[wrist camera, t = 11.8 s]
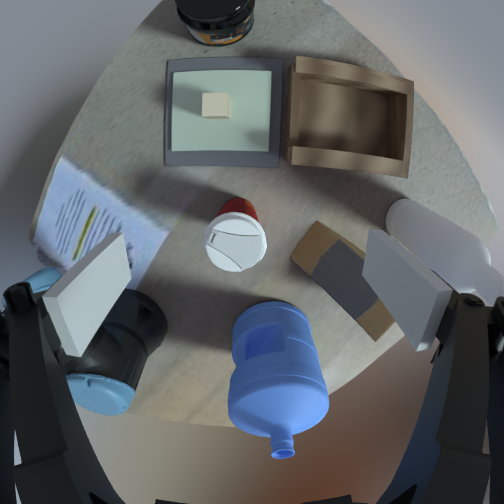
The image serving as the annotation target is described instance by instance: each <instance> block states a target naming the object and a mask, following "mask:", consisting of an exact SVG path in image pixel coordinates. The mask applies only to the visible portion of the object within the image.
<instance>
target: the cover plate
mask: <svg viewBox="0 0 504 504" xmlns="http://www.w3.org/2000/svg"><path fill="white" fill-rule="evenodd" d="M271 75H272V71H257V70H207V71H188V72H176V73H174V76H173V97H172V151H199V150H234V151H266V152H269V128H270V103H271Z"/></svg>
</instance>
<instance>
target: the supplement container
mask: <svg viewBox="0 0 504 504" xmlns="http://www.w3.org/2000/svg"><path fill="white" fill-rule="evenodd" d="M175 2H176V5H177V12H178V15H179V17H180V19H181V20H182V21H183V23H184V24H185V25H186V27H187V28H188V30H189V32H190V34H191V35H192V37H193V38H194V39H196V40H197V41H198V42H200V43H202V44H205V45H208V46H215V47H221V46H227V45H231V44H234V43H236V42H238V41H240V40H241V39H243V38H244V37H245V36H246V35H247V34H248V33H249V32H250V30H251V28H252V26H253V22H254V6H255V0H175Z"/></svg>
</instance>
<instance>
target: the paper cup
mask: <svg viewBox="0 0 504 504" xmlns="http://www.w3.org/2000/svg"><path fill="white" fill-rule="evenodd" d="M203 242H204V249H205V251H206V254H207V255H208V257H209V258H210V260H211V261H212V262H213V263H214V264H215V265H216V266H218V267H219V268H221V269H223V270H226V271H231V272H238V271H243V270H245V269H247V268H249V267H251V266H253V265H254V264H256V263H257V262H258V261H259V260H261V259H262V257H263V256H264V254H265V251H266V248H267V244H266V237H265V233H264V231H263V229H262V227H261V225H260V224H259V221H258V218H257V215H256V212H255V209H254V207H253V206H252V204H251V203H250V202H249V201H247V200H245V199H243V198H234V199H231V200H229V201H228V202H226V203H225V205H224V206H223V207H222V209H221V210H220V212H219V213H218V215H217V217H216V218H215V219H214V220H213V221H212V222H211V223H210V224H209V225H208V227H207V229H206V231H205V234H204V239H203Z"/></svg>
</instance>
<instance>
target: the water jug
mask: <svg viewBox="0 0 504 504" xmlns="http://www.w3.org/2000/svg"><path fill="white" fill-rule="evenodd" d="M232 341H233V344H232V357H233V361H234V363H235V364H236V369H235V370H234V372H233V374H232V376H231V379H230V389H229V393H228V413H229V417H230V419H231V421H232V422H233V424H234V425H235V426H236V427H238V428H239V429H241V430H243V431H245V432H247V433H250V434H253V435H258V436H264V437H271V447H272V452H271V456H272V457H274V458H288V457H291V456H293V455H294V453H295V451H294V450H293V444H294V443H293V439H292V435H293V434H297V433H300V432H303V431H305V430H307V429H309V428H311V427H313V426H314V425H316V424H317V423H318V422H320V421H321V420H322V419H323V418H324V416H325V415H326V413H327V411H328V408H329V399H328V391H327V387H326V384H325V381H324V379H323V376H322V372H321V368H320V364H319V358H318V353H317V350H316V347H315V345H314V342H313V338H312V335H311V328H310V325H309V322H308V319H307V317H306V316H305V315H304V313H303V312H302V311H301V310H299V309H298V308H296V307H295V306H293V305H290V304H288V303H284V302H277V301H270V302H263V303H259V304H256V305H254V306H252V307H250V308H248V309H247V310H245V311H244V312H243V313H242V314H241V315H240V316H239V317H238V318H237V320H236V322H235V324H234V327H233V333H232Z"/></svg>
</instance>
